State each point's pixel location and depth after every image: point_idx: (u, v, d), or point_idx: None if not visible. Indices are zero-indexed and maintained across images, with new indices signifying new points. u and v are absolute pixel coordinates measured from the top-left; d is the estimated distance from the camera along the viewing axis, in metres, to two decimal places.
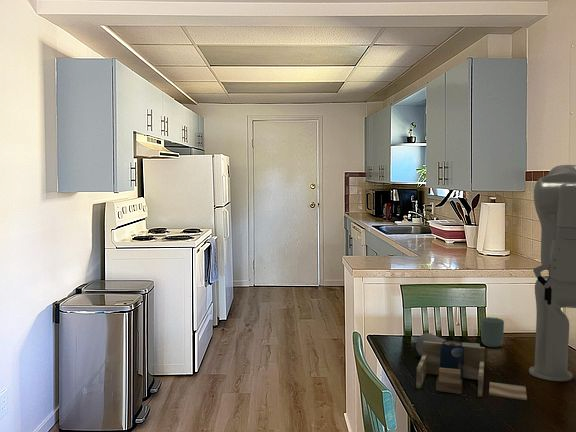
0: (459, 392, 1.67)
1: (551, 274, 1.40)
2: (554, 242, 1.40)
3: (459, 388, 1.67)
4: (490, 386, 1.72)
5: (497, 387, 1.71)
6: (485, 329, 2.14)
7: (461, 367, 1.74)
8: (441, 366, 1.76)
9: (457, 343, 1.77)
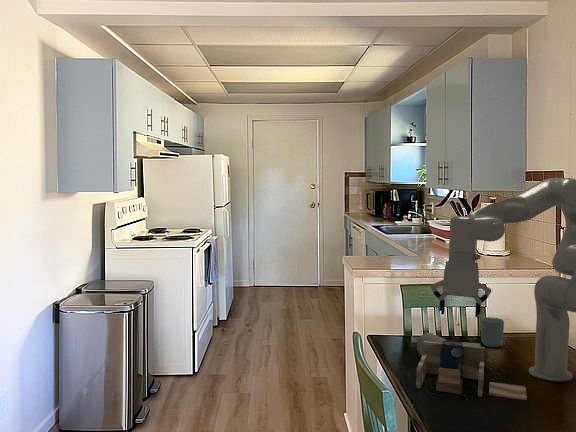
0: (459, 392, 1.67)
1: (443, 289, 1.72)
2: (446, 263, 1.73)
3: (459, 388, 1.67)
4: (490, 386, 1.72)
5: (497, 387, 1.71)
6: (485, 328, 2.14)
7: (461, 367, 1.74)
8: (441, 366, 1.76)
9: (457, 343, 1.77)
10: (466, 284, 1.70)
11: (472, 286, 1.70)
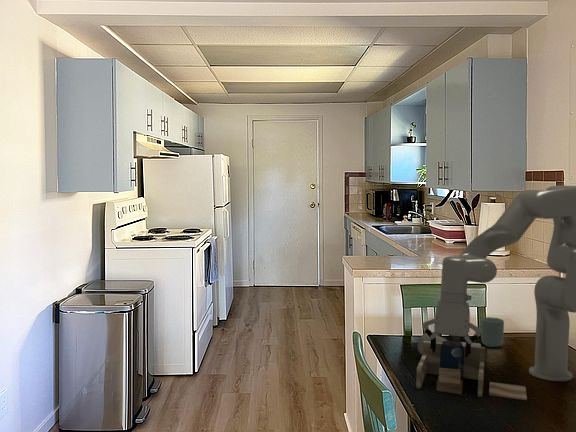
0: (459, 393, 1.67)
1: (435, 328, 1.76)
2: (438, 303, 1.76)
3: (459, 389, 1.67)
4: (490, 386, 1.72)
5: (497, 387, 1.71)
6: (485, 328, 2.14)
7: (461, 367, 1.74)
8: (441, 366, 1.76)
9: (457, 343, 1.77)
10: (456, 324, 1.73)
11: (462, 326, 1.73)
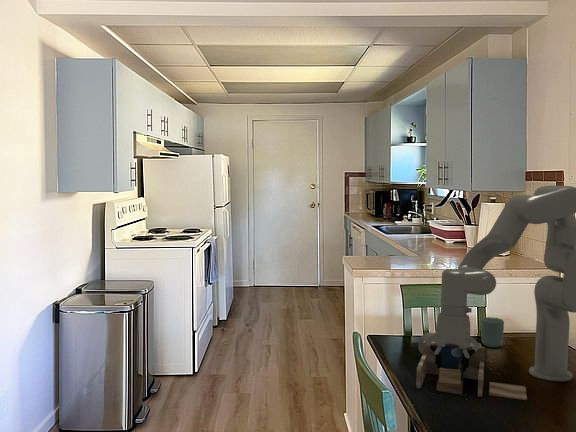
0: (460, 393, 1.67)
1: (436, 341, 1.76)
2: (438, 316, 1.76)
3: (460, 389, 1.67)
4: (490, 386, 1.72)
5: (497, 387, 1.71)
6: (485, 329, 2.14)
7: (461, 367, 1.74)
8: (441, 366, 1.76)
9: None
10: (457, 337, 1.73)
11: (463, 339, 1.73)
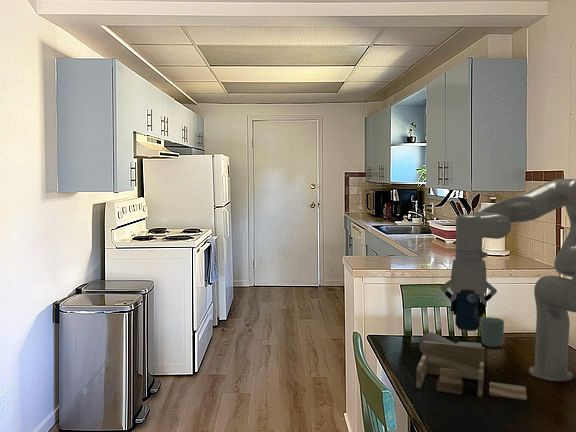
0: (459, 393, 1.67)
1: (451, 288, 1.73)
2: (453, 262, 1.73)
3: (459, 389, 1.67)
4: (490, 386, 1.72)
5: (497, 387, 1.71)
6: (485, 329, 2.14)
7: (477, 313, 1.71)
8: (457, 312, 1.73)
9: None
10: (473, 282, 1.71)
11: (479, 284, 1.70)
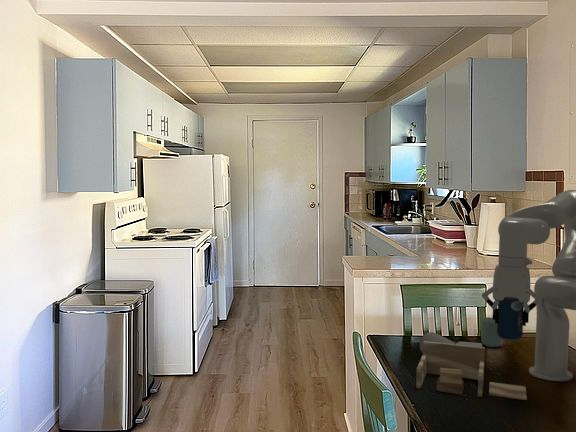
0: (460, 393, 1.67)
1: (493, 295, 1.67)
2: (496, 268, 1.67)
3: (460, 388, 1.67)
4: (490, 386, 1.72)
5: (497, 387, 1.71)
6: (485, 328, 2.14)
7: (521, 322, 1.65)
8: (499, 321, 1.67)
9: None
10: (517, 290, 1.65)
11: (524, 292, 1.64)
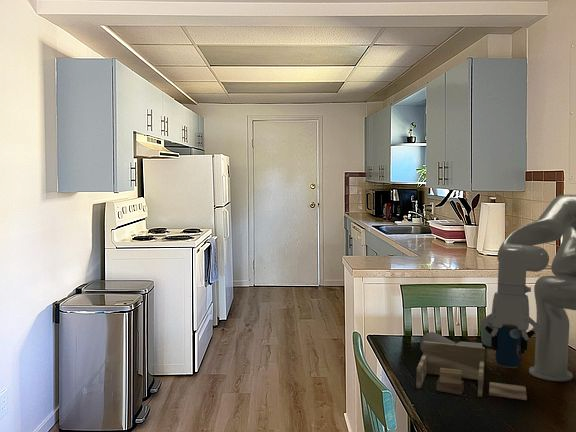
0: (459, 393, 1.66)
1: (492, 322, 1.68)
2: (495, 296, 1.68)
3: (459, 389, 1.66)
4: (490, 386, 1.72)
5: (497, 387, 1.71)
6: (485, 329, 2.14)
7: (519, 349, 1.66)
8: (498, 348, 1.67)
9: None
10: (516, 317, 1.65)
11: (522, 319, 1.65)
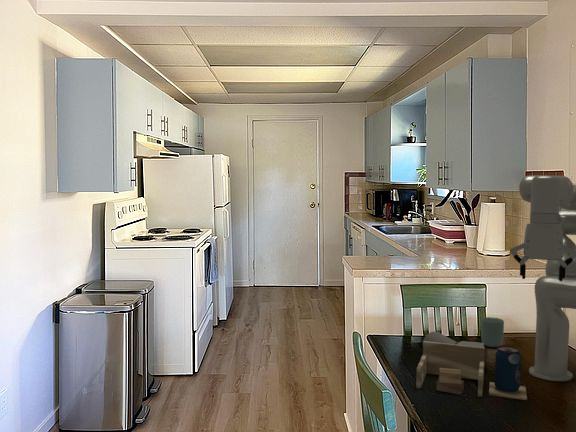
0: (459, 393, 1.67)
1: (525, 253, 1.65)
2: (528, 226, 1.65)
3: (459, 389, 1.67)
4: (490, 386, 1.72)
5: None
6: (485, 329, 2.14)
7: (518, 374, 1.66)
8: (497, 373, 1.68)
9: (513, 349, 1.69)
10: (549, 246, 1.62)
11: (556, 248, 1.62)
